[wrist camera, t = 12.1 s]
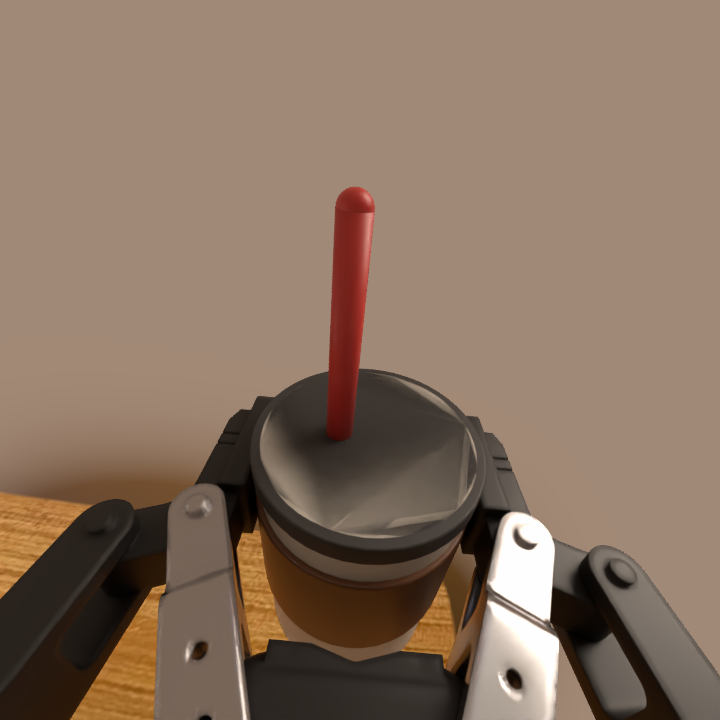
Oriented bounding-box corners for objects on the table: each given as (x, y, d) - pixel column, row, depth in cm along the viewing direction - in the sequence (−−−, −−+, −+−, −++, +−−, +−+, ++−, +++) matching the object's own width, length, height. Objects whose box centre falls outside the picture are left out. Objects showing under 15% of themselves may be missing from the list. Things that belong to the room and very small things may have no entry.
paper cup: (419, 514, 16) (519, 186, 8) (437, 689, 11) (732, 266, 3) (289, 501, 16) (272, 162, 8) (247, 671, 11) (104, 202, 3)
